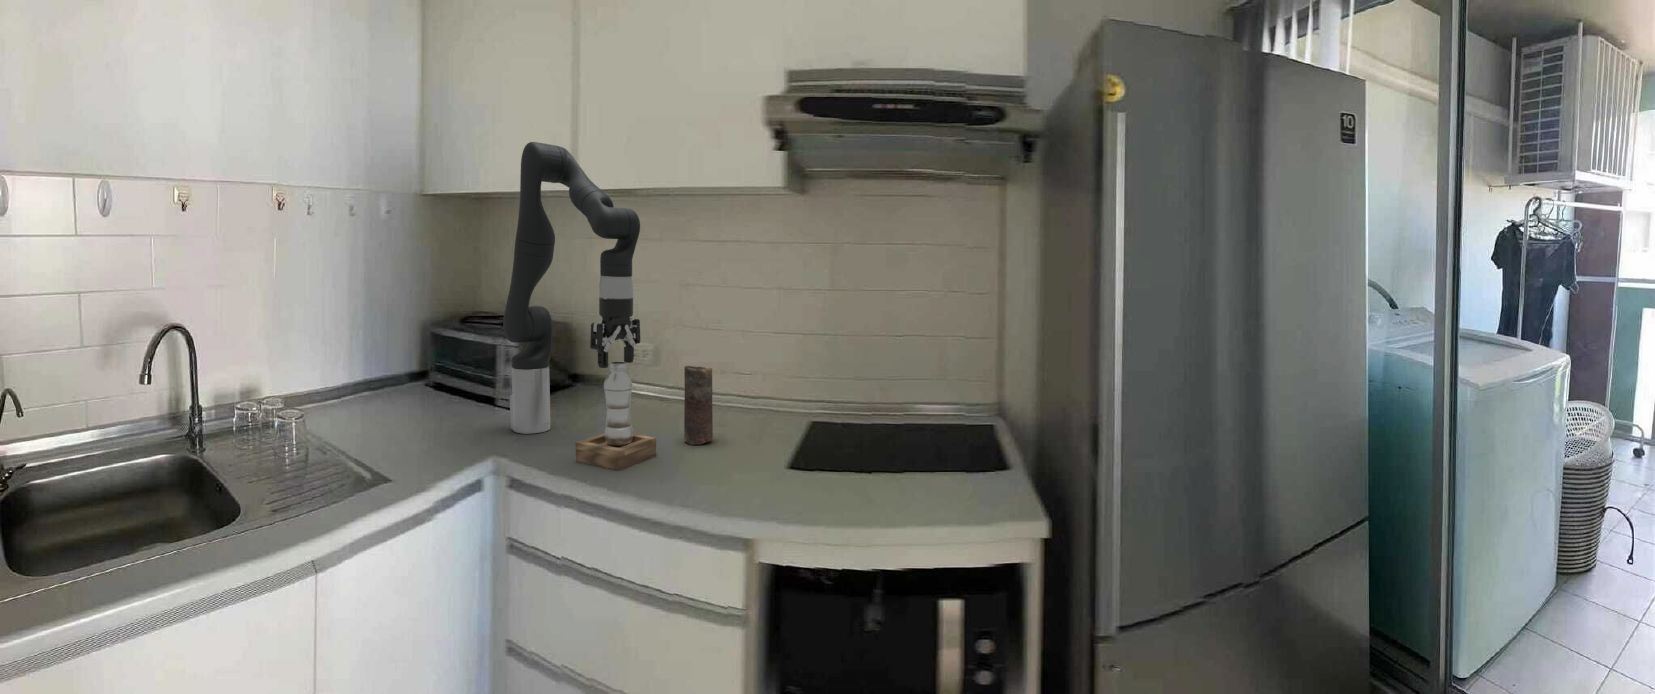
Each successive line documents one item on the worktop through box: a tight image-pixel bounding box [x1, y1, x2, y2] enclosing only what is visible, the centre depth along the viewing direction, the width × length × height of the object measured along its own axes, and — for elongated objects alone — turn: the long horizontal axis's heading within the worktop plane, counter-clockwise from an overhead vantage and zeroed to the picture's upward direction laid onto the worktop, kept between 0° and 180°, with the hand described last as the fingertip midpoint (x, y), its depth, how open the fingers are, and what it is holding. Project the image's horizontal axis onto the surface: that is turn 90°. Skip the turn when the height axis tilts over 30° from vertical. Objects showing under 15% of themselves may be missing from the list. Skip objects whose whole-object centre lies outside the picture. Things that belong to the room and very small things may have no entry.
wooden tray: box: [575, 433, 657, 471], centre depth 166 cm, size 13×13×4 cm
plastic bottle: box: [603, 360, 634, 446], centre depth 166 cm, size 6×7×20 cm
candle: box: [683, 365, 714, 446], centre depth 182 cm, size 8×7×20 cm
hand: (616, 365), depth 163 cm, fingers open, 8 cm apart
